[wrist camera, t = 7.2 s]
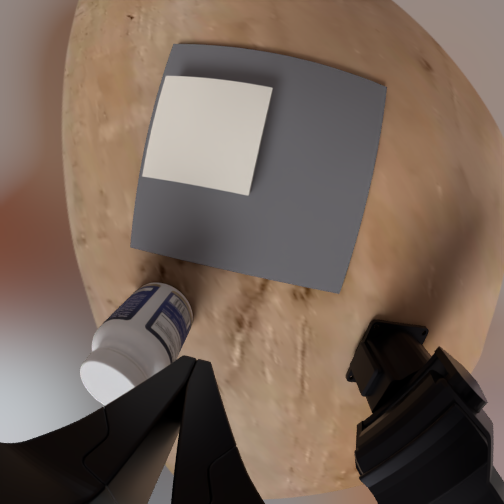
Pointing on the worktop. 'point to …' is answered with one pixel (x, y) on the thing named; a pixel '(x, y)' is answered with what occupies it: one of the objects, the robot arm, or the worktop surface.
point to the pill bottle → (137, 341)
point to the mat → (274, 174)
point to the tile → (207, 133)
